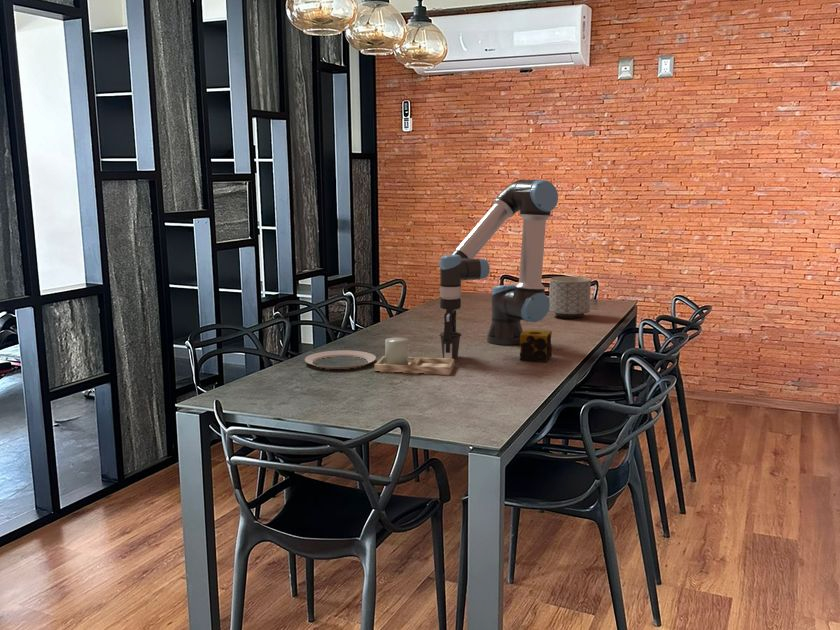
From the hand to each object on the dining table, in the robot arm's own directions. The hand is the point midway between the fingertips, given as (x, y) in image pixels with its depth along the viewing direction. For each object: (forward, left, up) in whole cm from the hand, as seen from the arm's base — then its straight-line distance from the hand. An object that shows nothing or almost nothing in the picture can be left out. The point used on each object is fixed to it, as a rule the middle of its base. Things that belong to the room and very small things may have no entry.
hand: (449, 358), depth 286 cm
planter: (-44, -95, 0) cm, 105 cm away
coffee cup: (0, 0, 0) cm, 0 cm away
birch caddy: (+10, +17, 0) cm, 20 cm away
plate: (+38, +13, -1) cm, 40 cm away
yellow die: (-31, -5, 0) cm, 32 cm away
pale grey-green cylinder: (+16, +17, 0) cm, 24 cm away
